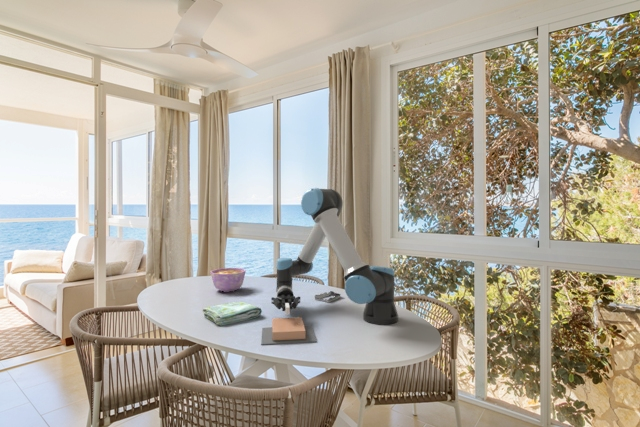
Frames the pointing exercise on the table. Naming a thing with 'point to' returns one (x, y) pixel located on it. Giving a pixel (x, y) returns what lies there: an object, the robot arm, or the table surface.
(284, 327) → the terracotta slab
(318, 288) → the table surface
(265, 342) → the charcoal mat
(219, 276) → the bowl of food
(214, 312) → the towel
